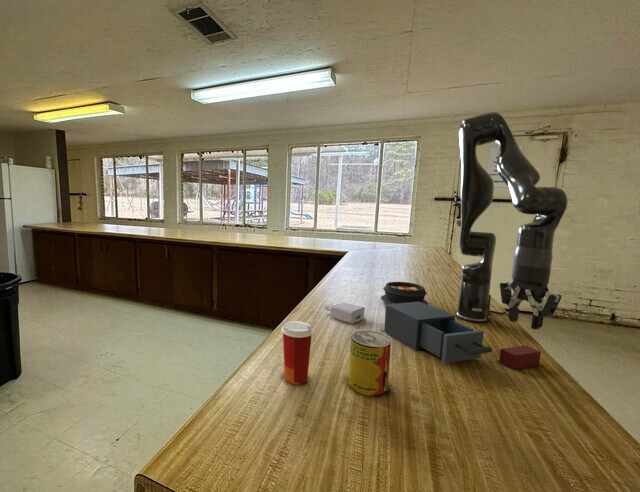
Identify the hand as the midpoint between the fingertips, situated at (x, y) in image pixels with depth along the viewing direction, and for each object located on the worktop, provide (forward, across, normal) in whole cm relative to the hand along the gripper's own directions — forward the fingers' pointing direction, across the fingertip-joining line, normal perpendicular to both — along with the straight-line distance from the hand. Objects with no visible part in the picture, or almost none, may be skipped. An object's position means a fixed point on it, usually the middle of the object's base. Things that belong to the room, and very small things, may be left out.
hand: (523, 324), depth 87 cm
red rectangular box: (+11, 0, 0) cm, 11 cm away
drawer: (+10, +8, +15) cm, 20 cm away
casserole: (+12, +51, -5) cm, 53 cm away
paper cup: (+12, +8, +63) cm, 65 cm away
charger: (+12, +45, +29) cm, 55 cm away
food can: (+12, +1, +47) cm, 48 cm away
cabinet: (+11, +21, +15) cm, 28 cm away
